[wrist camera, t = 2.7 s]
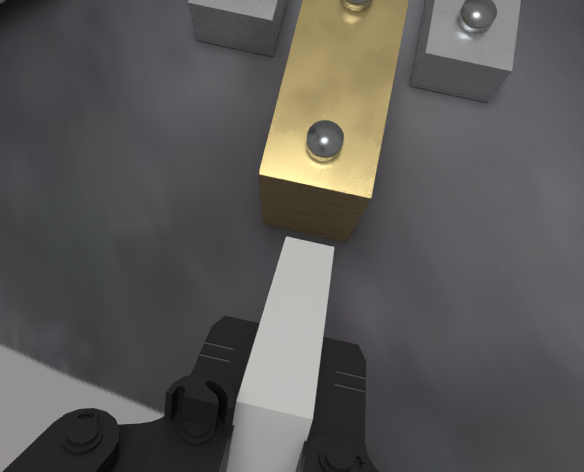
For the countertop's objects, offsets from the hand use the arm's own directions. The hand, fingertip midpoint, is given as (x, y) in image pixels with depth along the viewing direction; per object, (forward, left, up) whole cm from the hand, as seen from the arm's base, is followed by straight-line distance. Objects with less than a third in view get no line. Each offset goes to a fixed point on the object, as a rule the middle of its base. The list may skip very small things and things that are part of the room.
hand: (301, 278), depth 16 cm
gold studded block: (-11, 0, -13) cm, 17 cm away
